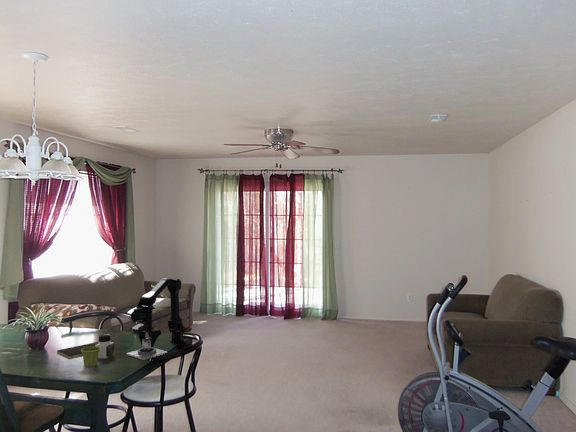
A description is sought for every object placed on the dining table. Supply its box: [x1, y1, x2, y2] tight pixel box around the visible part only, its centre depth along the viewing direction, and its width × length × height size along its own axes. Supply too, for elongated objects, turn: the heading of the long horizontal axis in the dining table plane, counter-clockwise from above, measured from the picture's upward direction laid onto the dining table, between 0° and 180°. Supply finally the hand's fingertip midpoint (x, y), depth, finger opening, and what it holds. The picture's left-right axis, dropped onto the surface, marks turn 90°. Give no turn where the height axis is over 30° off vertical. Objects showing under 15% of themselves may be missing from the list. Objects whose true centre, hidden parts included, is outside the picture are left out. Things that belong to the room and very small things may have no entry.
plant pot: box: [81, 347, 101, 368], centre depth 234 cm, size 9×9×9 cm
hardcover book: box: [56, 341, 99, 359], centre depth 260 cm, size 16×23×2 cm
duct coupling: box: [141, 336, 152, 352], centre depth 254 cm, size 5×5×8 cm
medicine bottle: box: [95, 333, 115, 359], centre depth 250 cm, size 7×7×12 cm
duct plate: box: [126, 346, 169, 361], centre depth 254 cm, size 16×16×2 cm
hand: (147, 345), depth 254 cm, fingers open, 9 cm apart
